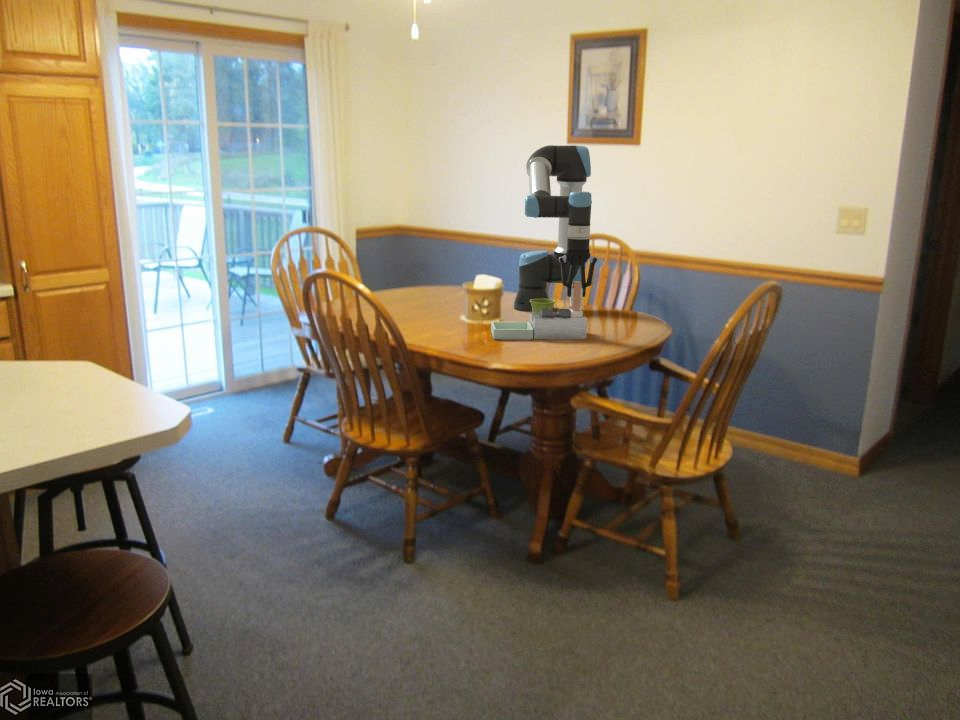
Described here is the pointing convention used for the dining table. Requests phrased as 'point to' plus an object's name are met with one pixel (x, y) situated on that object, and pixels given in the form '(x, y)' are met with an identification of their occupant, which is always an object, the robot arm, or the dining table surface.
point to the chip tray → (511, 331)
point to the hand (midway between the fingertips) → (575, 305)
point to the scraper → (576, 301)
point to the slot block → (558, 327)
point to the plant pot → (541, 304)
